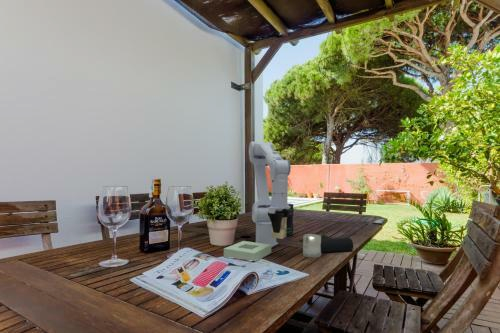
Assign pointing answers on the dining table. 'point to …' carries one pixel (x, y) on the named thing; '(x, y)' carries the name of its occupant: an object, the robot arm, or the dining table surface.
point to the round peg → (312, 245)
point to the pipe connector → (335, 244)
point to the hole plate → (248, 250)
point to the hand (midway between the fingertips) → (278, 231)
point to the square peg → (281, 230)
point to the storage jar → (289, 222)
